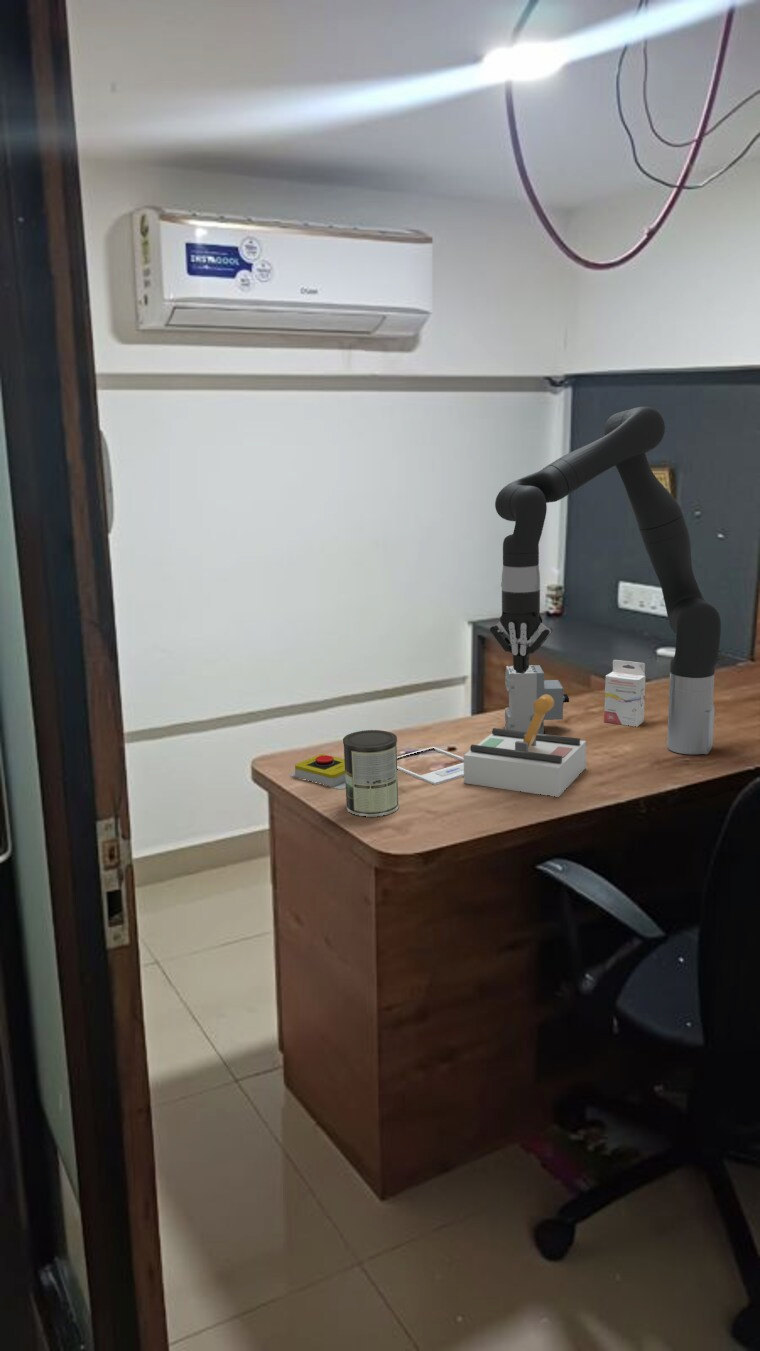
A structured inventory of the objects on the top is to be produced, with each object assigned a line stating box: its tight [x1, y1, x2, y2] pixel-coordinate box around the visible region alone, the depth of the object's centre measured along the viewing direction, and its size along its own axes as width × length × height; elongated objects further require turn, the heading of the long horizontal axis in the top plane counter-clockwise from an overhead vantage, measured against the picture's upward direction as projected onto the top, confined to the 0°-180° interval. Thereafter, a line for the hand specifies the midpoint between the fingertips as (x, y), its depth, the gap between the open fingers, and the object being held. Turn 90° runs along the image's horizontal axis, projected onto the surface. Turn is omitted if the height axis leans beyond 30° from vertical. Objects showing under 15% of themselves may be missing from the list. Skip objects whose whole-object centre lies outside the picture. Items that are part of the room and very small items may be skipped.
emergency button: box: [289, 753, 346, 790], centre depth 210 cm, size 9×4×15 cm
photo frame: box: [397, 746, 464, 786], centre depth 214 cm, size 15×1×18 cm
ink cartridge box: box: [603, 659, 647, 728], centre depth 238 cm, size 9×5×15 cm, turn 58°
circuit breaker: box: [504, 664, 570, 734], centre depth 234 cm, size 8×14×15 cm, turn 89°
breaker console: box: [463, 727, 587, 798], centre depth 206 cm, size 20×18×8 cm
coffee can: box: [342, 729, 400, 818], centre depth 191 cm, size 10×10×14 cm
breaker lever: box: [523, 694, 554, 747], centre depth 203 cm, size 3×4×11 cm
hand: (521, 672), depth 201 cm, fingers closed
